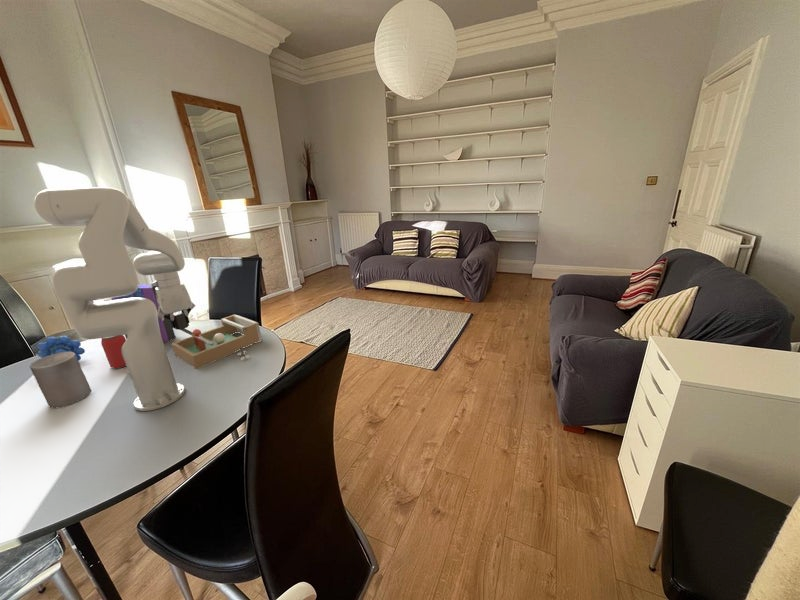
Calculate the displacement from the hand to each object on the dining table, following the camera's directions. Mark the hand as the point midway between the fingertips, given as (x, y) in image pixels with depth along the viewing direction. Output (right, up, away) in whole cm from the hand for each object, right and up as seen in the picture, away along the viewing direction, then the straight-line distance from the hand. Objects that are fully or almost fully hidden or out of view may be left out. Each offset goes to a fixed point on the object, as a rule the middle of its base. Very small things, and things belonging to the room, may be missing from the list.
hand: (181, 326), depth 129 cm
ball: (+16, -4, -1) cm, 16 cm away
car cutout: (+31, -12, -11) cm, 35 cm away
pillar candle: (-15, -20, -28) cm, 38 cm away
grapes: (-37, -14, -8) cm, 40 cm away
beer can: (-15, -13, -9) cm, 22 cm away
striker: (+10, -8, -5) cm, 13 cm away
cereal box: (-19, -7, +10) cm, 23 cm away
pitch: (+16, -8, 0) cm, 18 cm away
